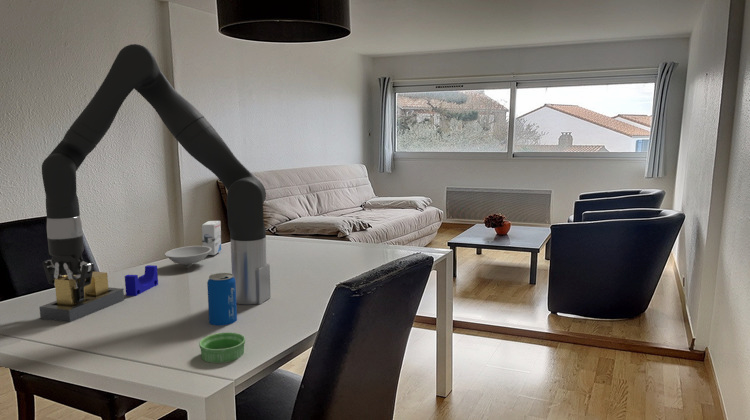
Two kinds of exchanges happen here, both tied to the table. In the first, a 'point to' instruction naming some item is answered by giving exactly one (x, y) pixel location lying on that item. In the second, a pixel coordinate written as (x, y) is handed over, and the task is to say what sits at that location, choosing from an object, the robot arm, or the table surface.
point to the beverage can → (222, 299)
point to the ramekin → (222, 340)
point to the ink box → (212, 236)
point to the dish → (188, 254)
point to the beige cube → (97, 285)
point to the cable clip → (141, 281)
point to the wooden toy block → (65, 292)
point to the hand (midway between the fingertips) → (71, 301)
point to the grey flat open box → (81, 306)
